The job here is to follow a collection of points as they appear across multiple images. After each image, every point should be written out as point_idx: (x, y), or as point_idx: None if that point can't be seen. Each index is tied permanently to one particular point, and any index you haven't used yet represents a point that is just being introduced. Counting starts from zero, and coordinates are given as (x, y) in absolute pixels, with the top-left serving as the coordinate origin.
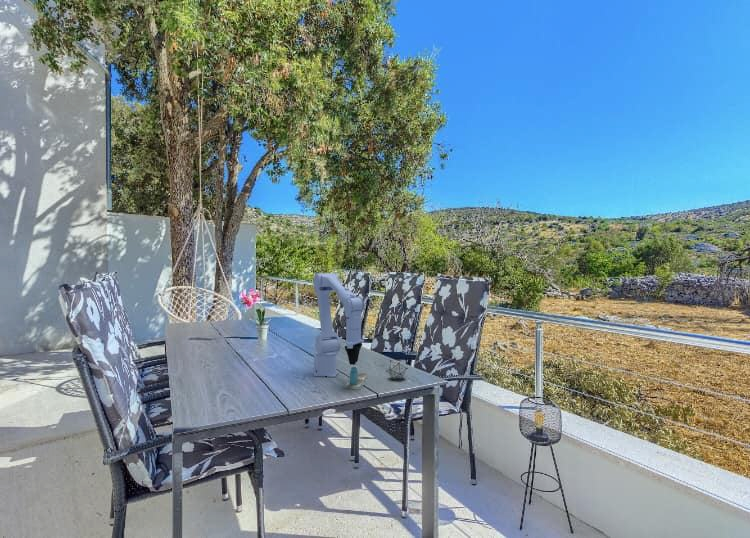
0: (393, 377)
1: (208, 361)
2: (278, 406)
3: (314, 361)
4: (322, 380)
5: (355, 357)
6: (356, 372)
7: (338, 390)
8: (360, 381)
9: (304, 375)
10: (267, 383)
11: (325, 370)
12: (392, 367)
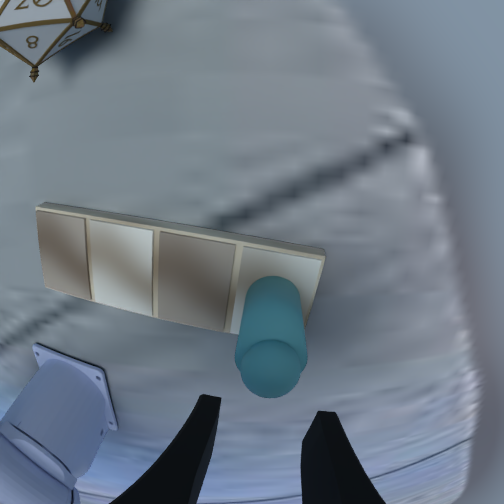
0: (101, 17)
1: None
2: (434, 460)
3: (88, 467)
4: (161, 411)
5: (365, 481)
6: (300, 340)
7: (324, 359)
8: (202, 253)
9: (117, 443)
10: (225, 501)
11: (96, 417)
12: (61, 3)
